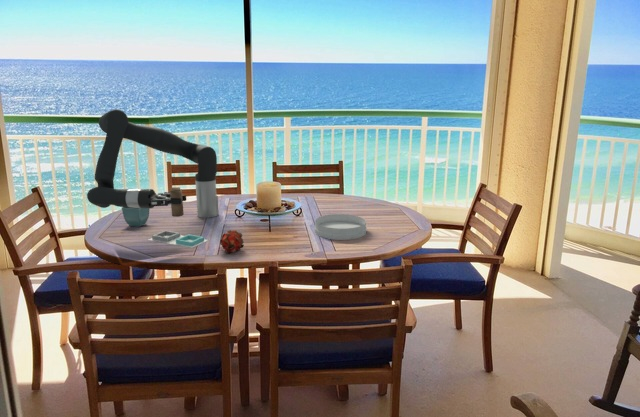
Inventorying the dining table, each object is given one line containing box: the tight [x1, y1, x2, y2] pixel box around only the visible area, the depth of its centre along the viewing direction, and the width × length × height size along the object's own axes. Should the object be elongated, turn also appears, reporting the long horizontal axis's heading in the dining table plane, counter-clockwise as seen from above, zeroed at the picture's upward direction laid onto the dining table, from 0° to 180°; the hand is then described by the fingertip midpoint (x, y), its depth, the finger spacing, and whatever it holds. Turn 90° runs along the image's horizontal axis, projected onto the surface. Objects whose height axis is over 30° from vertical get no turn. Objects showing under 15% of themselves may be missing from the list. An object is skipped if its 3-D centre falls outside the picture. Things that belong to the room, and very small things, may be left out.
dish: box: [314, 213, 367, 241], centre depth 209 cm, size 22×22×5 cm
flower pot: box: [121, 207, 150, 228], centre depth 216 cm, size 9×9×9 cm
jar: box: [169, 186, 185, 218], centre depth 189 cm, size 4×4×11 cm
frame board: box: [147, 230, 209, 248], centre depth 194 cm, size 22×10×3 cm, turn 65°
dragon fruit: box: [219, 229, 245, 255], centre depth 184 cm, size 8×8×12 cm
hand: (183, 199), depth 189 cm, fingers closed on jar, 4 cm apart
